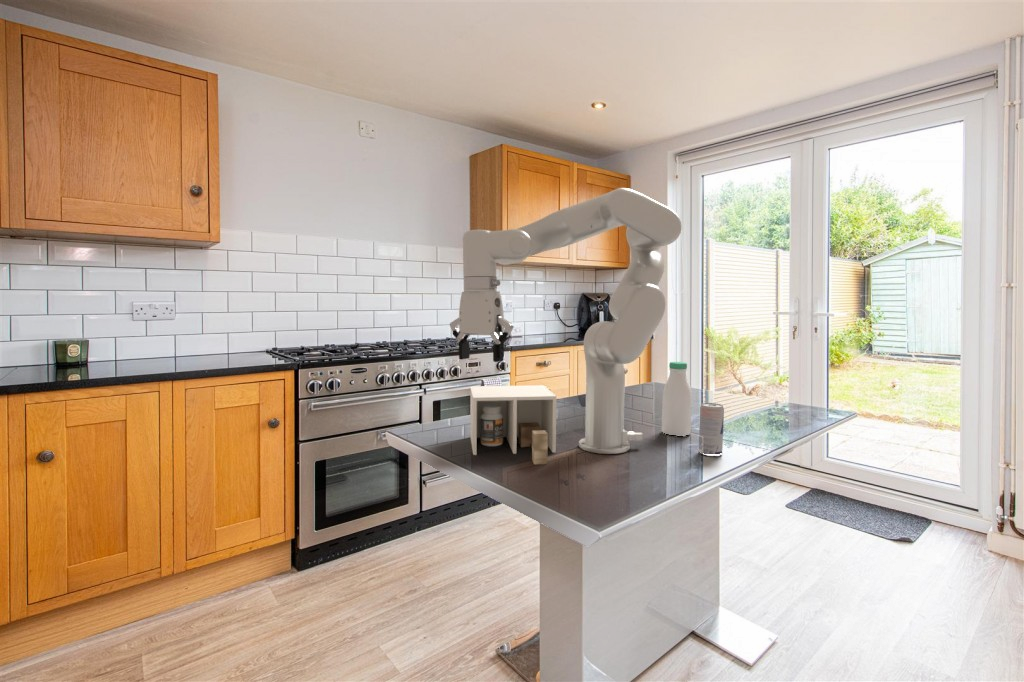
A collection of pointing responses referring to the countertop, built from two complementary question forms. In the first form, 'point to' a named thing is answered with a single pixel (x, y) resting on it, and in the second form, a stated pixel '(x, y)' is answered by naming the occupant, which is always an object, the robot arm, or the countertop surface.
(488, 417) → the pill bottle
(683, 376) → the milk bottle
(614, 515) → the countertop surface
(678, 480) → the countertop surface
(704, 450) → the energy drink
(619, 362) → the robot arm
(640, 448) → the countertop surface
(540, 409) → the cubby shelf
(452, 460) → the countertop surface
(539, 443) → the wooden block tool
